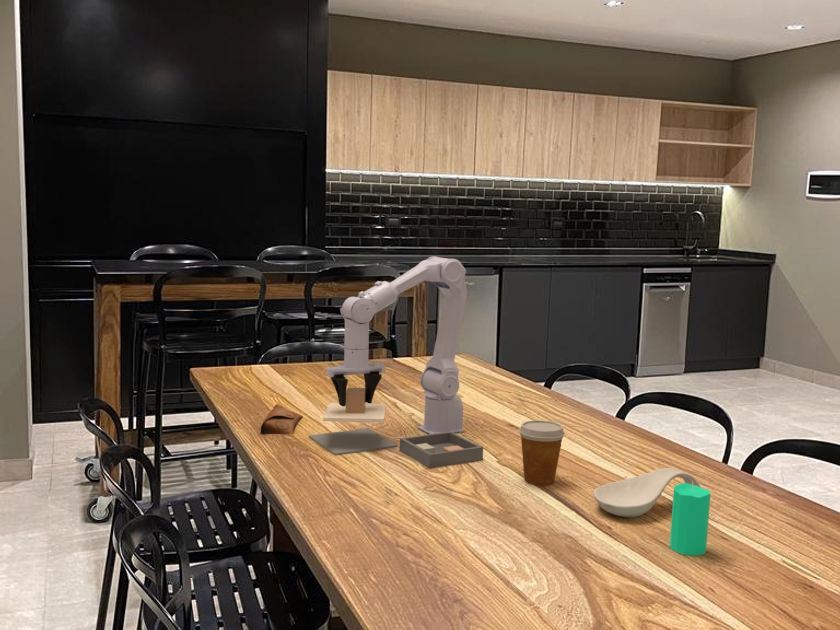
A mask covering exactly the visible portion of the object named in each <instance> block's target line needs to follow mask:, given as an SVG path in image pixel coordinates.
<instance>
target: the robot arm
mask: <svg viewBox="0 0 840 630" xmlns="http://www.w3.org/2000/svg"><path fill="white" fill-rule="evenodd" d="M466 273H467V270H466V268H465V267H464V266H463V264H462V262H461V261H460V260H458V259H457V258H456V259H455V258H446V257H445V258H444V257H439V256H437V255H436V256H435V255H433V256H430V257H428V258H427V259H424V260H421V261H419V263H418V264H417V265H415V266H414V267H412V268H411V269H409V270H408V271H406V272H404V273H403V274H402V275H400V276H398V277H397V278H396V279H394V280H392V281H390V282H389V281H386V280H384V281H381V280H380V281H379V280H377V281H376V282H375V283H374V285H373V286H372V287H370V288H368V289H366V290H365V291H363V290H362V291H360V292H358V295H357V296H350V297H348V298H346V299H345V300H344V302H343V303H342V307H340V308H339V310H340V314H341V316H342V317H343V319H344V343H343V344H344V348H343V349H344V350H343V351H344V352H343V353H344V355H343V356H344V357H343V362H344V363H343V364H342V365H336V366H330V367H326V368H325V369H326V370H325V372H326V373H325V374H326V375H325V376H327V377H329V378H330V380H331V382H332V384H333V386H334V389H335V391H336V395H337V399H338V403H339V405H341V406H345V405H346V391H347V388H348V382H349V379H347V378H346V376H352V375H363V378H364V379H363V380H364V386H365V387H364V388H366V404H373V403H372V402H373V399H374V395H375V391H376V389H377V387H378V385H379V383H380V381H381V380H382V373H383V374H384V373H385V372H386V364H385V363H381V362H380V363H369V349H370V348H369V341H370V338H369V337H370V322H371V321H372V319H373V317H374V315H375V314H377V313H379V311H380V312H381V310H384V309H385V308H386V307H389V306H390V305H392V304H394V303H395V302H396V301H397V298H398V295H400V294H403V292H405V291H408V290H410V289H411V288H414V287H415V286H417V285H419V284H421V283H423V282H430V283H432V284H434V286H436V287H437V288H438V289H439V290H440V292H441V293H442V295H443V296H444V297H443V302H442V309H441V313H440V319H439V323H438V329H437V334H436V338H435V339H436V340H435V343H434V348H433V349H434V350H433V353H432V357H431V358H430V359H429V360H428V361H426V363H425V367H424V369H423V372H422V373H421V375H420V378H419V383H420V386H421V387H422V389H423V391H424V392H423V393H424V416H423V417H424V418H423V422H424V423H423V425H418V426H417V429H418V430H420V431H421V432H422V431H423V432H425V433H427V435H428V434H436V433H443V432H453V433H455V434H457V433H462V432H464V431H465V429H464V428H463V426H464V425H463V424H464V423H463V422H464V403H463V401H462V398H461V396H459V395H457V393H458V391H459V389H460V380H459V373H460V370H459V368H458V366H457V364H456V362H455V361H456V360H455V359H456V354H457V349H458V343H459V338H460V332H461V327H462V322H463V317H464V311H465V306H466V301H467V296H468V289H467V284H466V279H465V278H466Z"/></svg>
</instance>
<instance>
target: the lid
mask: <svg viewBox="0 0 840 630" xmlns="http://www.w3.org/2000/svg"><path fill="white" fill-rule="evenodd" d="M386 409H387V404H386V403H370V404H369V403H367V402H366V388H365V387H347V388H346V405H345V406H341V405H339V402H329V403H328V405H327V407H326V410H325V413H324V415H323V417H322V420H323V422H346V423H347V422H348V423H350V422H351V423H352V422H353V423H384V422H385V418H386Z"/></svg>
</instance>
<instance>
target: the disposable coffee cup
mask: <svg viewBox="0 0 840 630" xmlns="http://www.w3.org/2000/svg"><path fill="white" fill-rule="evenodd" d="M518 433H519V435H520V441H521V442H520V443H521V451H522V452H521V453H522V464H523V477H524V478H523V480H524V482H525V483H527V484H530V485H532V486H539V487H541V486H542V487H544V486H550V485H553V484H554V483H555V479H556V473H557V469H558V463H559V457H560V452H561V447H562V441H563V439H564V436H566V435H565V431H564V427H563V425H562V424H560V423H558V422H554V421H549V420H528V421H524V422H522V423H521V424H520V428H519V429H518Z"/></svg>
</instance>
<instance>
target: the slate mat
mask: <svg viewBox="0 0 840 630" xmlns="http://www.w3.org/2000/svg"><path fill="white" fill-rule="evenodd" d="M308 438H309V439H311V440H312V441H313V442H314V443H317V445H319V446H321V447H323V448H324V449H325V450H327V451H328V452H330V453H331V454H333V455H334V456H339V455H346V454H354V453H355V454H356V453H362V452H368V451H376V450H384V449H391V448H397V447H398V444H397V443H395V442H392V441H391V440H389V439H388V438H386V437H384V436H383V435H381V434H379V433H377V432H375V431H374V430H371V429H370V428H369V427H368V428H367V427H366V428H358V429H351V430H342V431H341V430H340V431H335V432H327V433H318V434H311V435H308Z"/></svg>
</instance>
